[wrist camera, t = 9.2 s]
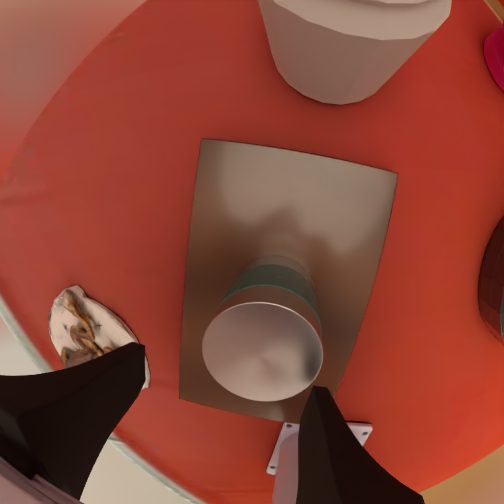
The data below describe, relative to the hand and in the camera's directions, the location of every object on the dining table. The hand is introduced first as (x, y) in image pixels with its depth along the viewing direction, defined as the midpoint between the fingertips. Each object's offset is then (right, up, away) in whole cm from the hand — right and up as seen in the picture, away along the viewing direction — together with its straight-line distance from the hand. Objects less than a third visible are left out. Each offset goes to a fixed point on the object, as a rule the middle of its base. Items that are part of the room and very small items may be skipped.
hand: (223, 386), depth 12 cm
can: (+6, +18, +4) cm, 20 cm away
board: (+3, +2, +9) cm, 9 cm away
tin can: (+3, +3, +7) cm, 8 cm away
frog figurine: (-13, -4, +13) cm, 19 cm away
